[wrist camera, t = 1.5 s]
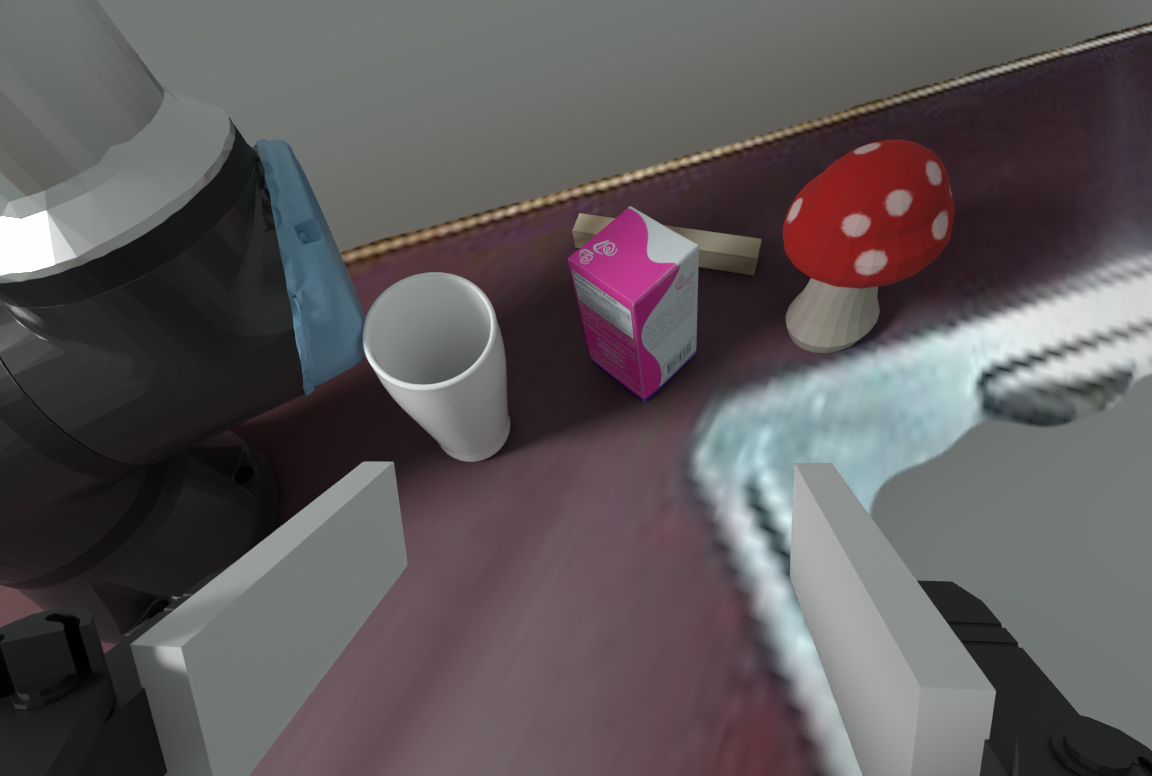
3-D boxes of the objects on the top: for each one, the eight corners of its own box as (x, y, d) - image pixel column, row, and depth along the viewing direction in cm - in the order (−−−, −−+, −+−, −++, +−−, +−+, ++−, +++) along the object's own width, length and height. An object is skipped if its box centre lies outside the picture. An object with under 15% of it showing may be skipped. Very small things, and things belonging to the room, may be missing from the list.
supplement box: (639, 313, 47) (631, 201, 38) (698, 355, 45) (706, 245, 35) (587, 360, 46) (564, 255, 36) (644, 406, 43) (637, 307, 33)
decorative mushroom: (844, 259, 47) (908, 79, 35) (926, 335, 43) (1035, 161, 30) (736, 314, 46) (762, 149, 33) (809, 398, 42) (872, 245, 29)
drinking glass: (440, 488, 42) (376, 409, 28) (416, 402, 44) (346, 291, 30) (533, 455, 43) (516, 364, 29) (505, 373, 45) (476, 253, 31)
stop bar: (575, 247, 52) (572, 230, 50) (582, 230, 53) (579, 213, 51) (753, 275, 48) (757, 258, 46) (758, 256, 49) (761, 239, 47)
